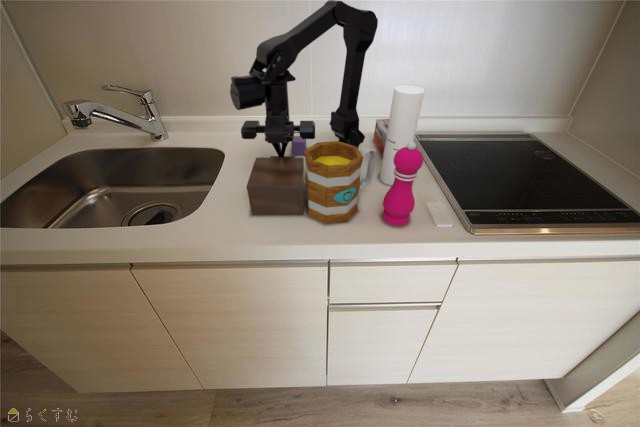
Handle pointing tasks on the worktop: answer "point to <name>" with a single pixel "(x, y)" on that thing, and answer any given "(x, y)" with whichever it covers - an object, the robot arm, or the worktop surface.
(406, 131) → the cylindrical container
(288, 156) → the drawer
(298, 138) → the block
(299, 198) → the cabinet
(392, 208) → the pepper mill
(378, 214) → the worktop surface
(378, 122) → the medicine box
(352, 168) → the mug
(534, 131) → the worktop surface
